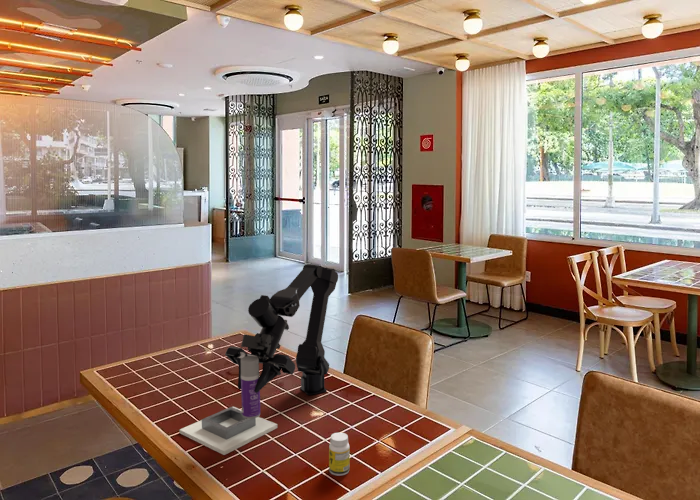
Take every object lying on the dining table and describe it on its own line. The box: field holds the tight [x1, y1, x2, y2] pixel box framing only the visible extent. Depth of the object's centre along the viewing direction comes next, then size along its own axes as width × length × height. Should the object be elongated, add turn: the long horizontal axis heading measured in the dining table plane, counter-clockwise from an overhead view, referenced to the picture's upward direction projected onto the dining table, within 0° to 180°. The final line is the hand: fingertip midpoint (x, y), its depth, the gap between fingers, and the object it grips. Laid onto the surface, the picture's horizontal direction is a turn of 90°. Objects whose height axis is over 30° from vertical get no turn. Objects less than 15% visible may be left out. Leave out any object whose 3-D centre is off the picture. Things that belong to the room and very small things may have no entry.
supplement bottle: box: [328, 432, 351, 477], centre depth 123 cm, size 5×5×8 cm
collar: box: [201, 406, 256, 440], centre depth 142 cm, size 10×10×2 cm
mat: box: [179, 406, 278, 456], centre depth 142 cm, size 18×18×1 cm
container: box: [240, 356, 261, 419], centre depth 137 cm, size 5×5×15 cm
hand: (247, 390), depth 136 cm, fingers closed on container, 5 cm apart
